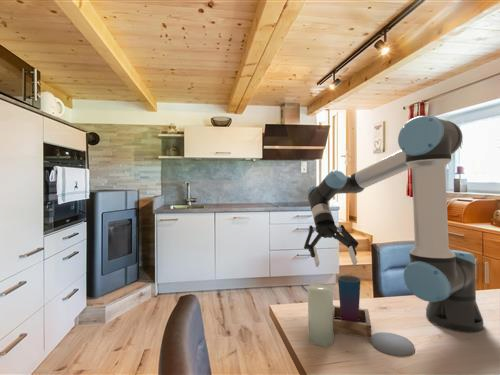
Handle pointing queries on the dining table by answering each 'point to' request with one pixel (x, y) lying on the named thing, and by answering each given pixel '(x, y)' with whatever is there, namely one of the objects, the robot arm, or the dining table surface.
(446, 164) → the robot arm
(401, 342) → the felt pad
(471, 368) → the dining table surface
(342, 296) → the cup
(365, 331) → the wooden tray box
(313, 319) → the pillar candle
